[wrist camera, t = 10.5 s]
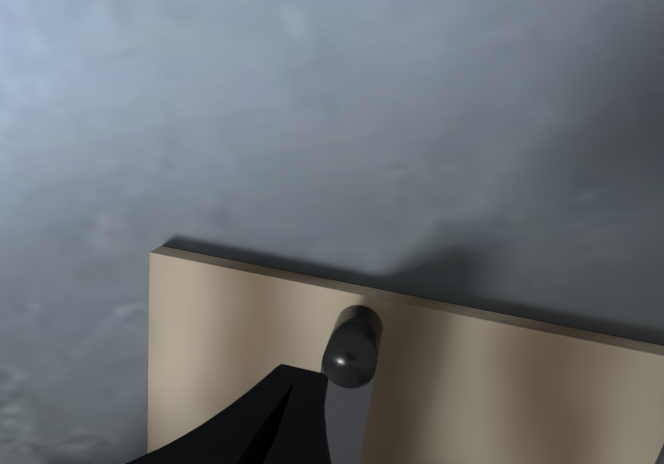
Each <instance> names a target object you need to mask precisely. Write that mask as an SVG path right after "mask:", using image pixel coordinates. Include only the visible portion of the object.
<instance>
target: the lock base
mask: <svg viewBox="0 0 664 464" xmlns="http://www.w3.org/2000/svg"><path fill="white" fill-rule="evenodd" d="M353 305H363V306H366V307H369V308H371V309H372V310H374V311H375V312H376V313H377V314H378V316H379V317H380V319H381V322H382V328H383V329H382V336H381V342H380V348H379V354H378V360H377V366H376V372H375V378H374V383H373V389H372V394H371V400H370V406H369V411H368V417H367V422H366V428H365V434H364V439H363V445H362V450H361V456H360V462H359V464H655V462H656V460H657V458H658V455H659V453H660V451H661V449H662V446H663V444H664V346H662V345H656V344H651V343H646V342H641V341H636V340H631V339H626V338H621V337H616V336H611V335H606V334H601V333H596V332H591V331H586V330H581V329H576V328H571V327H566V326H561V325H556V324H551V323H546V322H541V321H536V320H531V319H526V318H521V317H516V316H511V315H506V314H501V313H496V312H491V311H486V310H481V309H476V308H470V307H465V306H460V305H455V304H450V303H445V302H440V301H435V300H430V299H425V298H420V297H415V296H410V295H405V294H400V293H395V292H390V291H385V290H380V289H375V288H370V287H365V286H360V285H355V284H350V283H345V282H340V281H335V280H330V279H325V278H320V277H315V276H310V275H305V274H300V273H295V272H290V271H284V270H279V269H274V268H269V267H264V266H259V265H254V264H249V263H244V262H239V261H234V260H229V259H224V258H219V257H214V256H209V255H204V254H199V253H194V252H189V251H184V250H179V249H174V248H169V247H164V246H160V247H158V248H157V249H155V250H153V251H151V252H150V279H149V367H148V453H150V452H152V451H154V450H157V449H159V448H161V447H163V446H165V445H167V444H169V443H171V442H173V441H174V440H176V439H178V438H180V437H182V436H183V435H185V434H187V433H188V432H190V431H192V430H193V429H195V428H197V427H198V426H200V425H201V424H203V423H205V422H206V421H208V420H209V419H210V418H212V417H213V416H215V415H216V414H218V413H219V412H221V411H222V410H224V409H225V408H226V407H228V406H229V405H231V404H232V403H233V402H234V401H236V400H237V399H238V398H240V397H241V396H242V395H243V394H245V393H246V392H247V391H249V390H250V389H251V388H252V387H254V386H255V385H256V384H257V383H258V382H260V381H261V380H262V379H263V378H264V377H265V376H267V375H268V374H269V373H270V372H271V371H272V370H273V369H275V368H276V367H277V366H278V365H280V364H285V365H289V366H294V367H298V368H302V369H307V370H311V371H315V372H320V371H321V364H322V358H323V354H324V352H325V349H326V346H327V344H328V341H329V339H330V336H331V333H332V331H333V328H334V325H335V323H336V320H337V318H338V316H339V314H340V313H341V311H342V310H344V309H345V308H347V307H349V306H353Z"/></svg>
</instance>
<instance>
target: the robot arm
mask: <svg viewBox="0 0 664 464" xmlns="http://www.w3.org/2000/svg"><path fill="white" fill-rule="evenodd" d="M328 380H329V378H328V377H327V375H326V374H324V373H320V372H315V371H311V370H307V369H302V368H298V367H294V366H289V365H285V364H280V365H278V366H277V367H276V368H275V369H273V370H272V371H271V372H270V373H269V374H268V375H267V376H265V377H264V378H263V379H262V380H261V381H260V382H258V383H257V384H256V385H255V386H254V387H252V388H251V389H250V390H249V391H247V392H246V393H245V394H243V395H242V396H241V397H240V398H238V399H237V400H236V401H234V402H233V403H232V404H231V405H229V406H228V407H226V408H225V409H224V410H222V411H221V412H219V413H218V414H216V415H215V416H213V417H212V418H210V419H209V420H208V421H206V422H205V423H203V424H201V425H200V426H198V427H197V428H195V429H193V430H192V431H190V432H188V433H187V434H185V435H183V436H182V437H180V438H178V439H176V440H174V441H173V442H171V443H169V444H167V445H165V446H163V447H161V448H159V449H157V450H154V451H152V452H150V453H148V454H146V455H144V456H142V457H139V458H137V459H135V460H133V461H131V462H128V463H126V464H332V463H331V458H330V453H329V447H328V440H327V433H326V421H325V400H326V393H327V386H328Z"/></svg>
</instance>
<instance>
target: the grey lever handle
mask: <svg viewBox="0 0 664 464" xmlns="http://www.w3.org/2000/svg"><path fill="white" fill-rule="evenodd" d="M382 329H383V328H382V322H381V319H380V317H379V316H378V314H377V313H376V312H375V311H374V310H372V309H371V308H369V307H366V306H363V305H353V306H349V307H347V308H345V309H344V310H342V311H341V313H340V314H339V316H338V318H337V320H336V323H335V325H334V328H333V331H332V333H331V336H330V339H329V341H328V344H327V346H326V349H325V352H324V354H323V358H322V364H321V371H320V373H324V374H326V375H327V377H328V378H329V380H328V386H327V393H326V400H325V421H326V433H327V440H328V447H329V453H330V458H331V463H332V464H359V462H360V456H361V450H362V445H363V439H364V434H365V428H366V422H367V417H368V411H369V406H370V400H371V394H372V389H373V383H374V378H375V372H376V366H377V360H378V354H379V348H380V342H381V336H382Z"/></svg>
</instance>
